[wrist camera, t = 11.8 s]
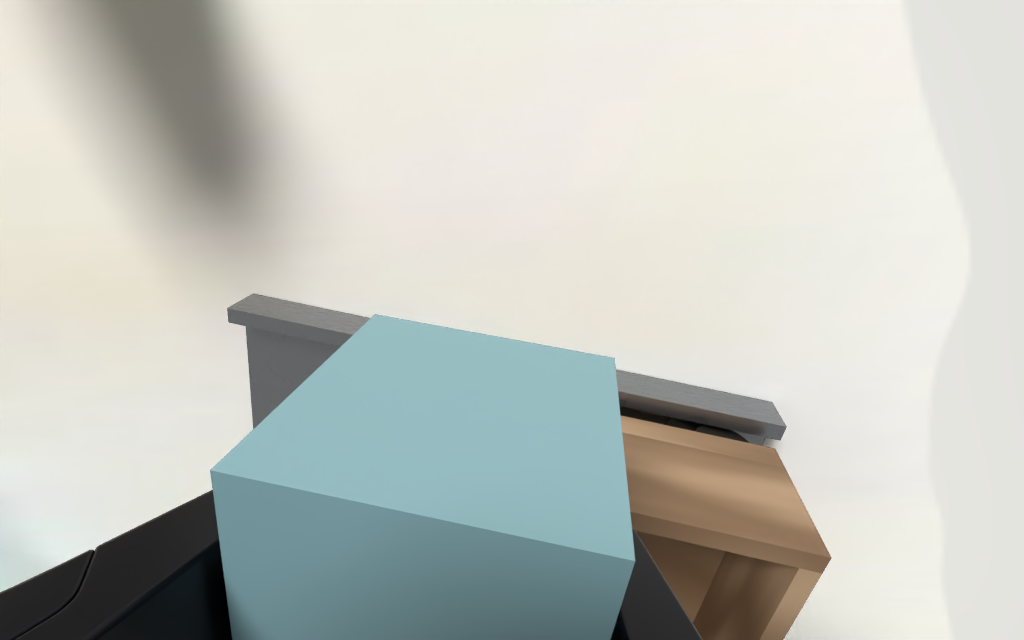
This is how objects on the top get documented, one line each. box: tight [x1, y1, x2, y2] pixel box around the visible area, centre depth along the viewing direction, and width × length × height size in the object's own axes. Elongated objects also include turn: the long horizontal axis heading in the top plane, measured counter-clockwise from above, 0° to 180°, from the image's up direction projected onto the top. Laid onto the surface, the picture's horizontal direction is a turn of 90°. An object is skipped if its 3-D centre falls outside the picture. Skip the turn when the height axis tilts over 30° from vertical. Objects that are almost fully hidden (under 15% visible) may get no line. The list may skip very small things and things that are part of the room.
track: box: [227, 294, 786, 446], centre depth 21 cm, size 10×21×2 cm, turn 81°
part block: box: [210, 314, 635, 640], centre depth 8 cm, size 4×4×4 cm
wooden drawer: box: [620, 415, 831, 640], centre depth 18 cm, size 9×13×6 cm
